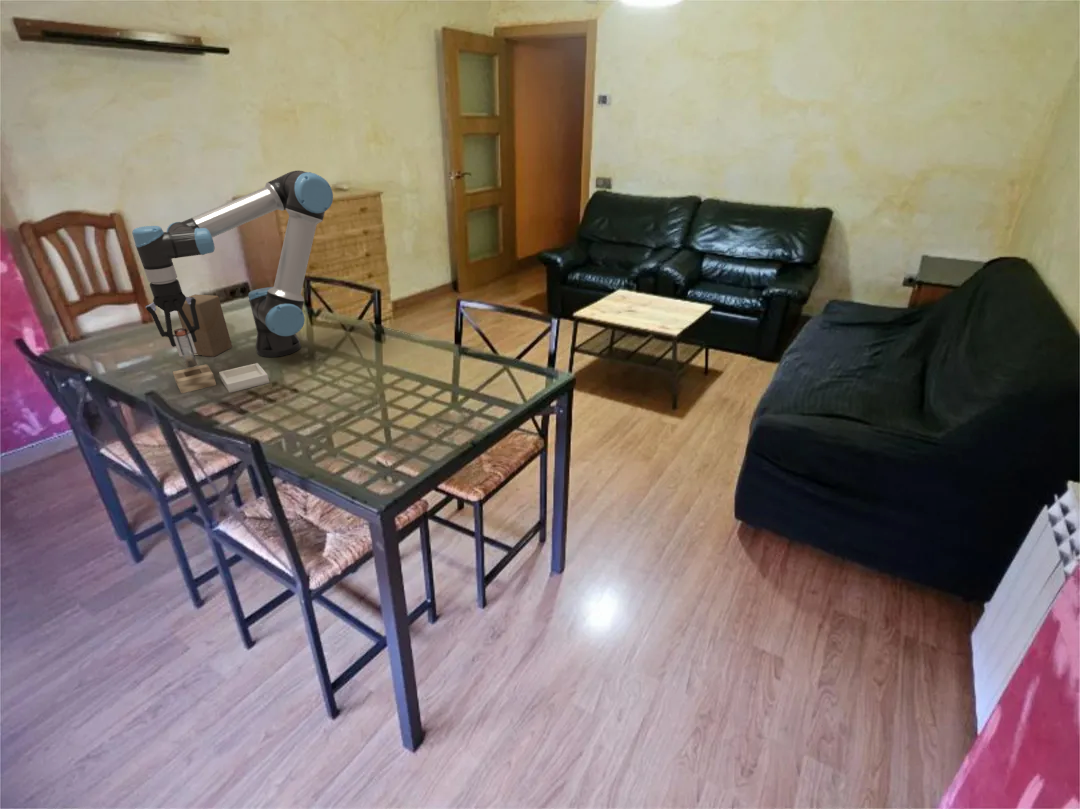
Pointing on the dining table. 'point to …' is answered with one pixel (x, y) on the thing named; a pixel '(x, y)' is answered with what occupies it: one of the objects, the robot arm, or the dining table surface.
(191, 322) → the wooden block
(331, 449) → the dining table surface
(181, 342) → the pin
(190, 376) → the block
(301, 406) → the dining table surface
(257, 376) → the tray
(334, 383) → the dining table surface
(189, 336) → the robot arm
